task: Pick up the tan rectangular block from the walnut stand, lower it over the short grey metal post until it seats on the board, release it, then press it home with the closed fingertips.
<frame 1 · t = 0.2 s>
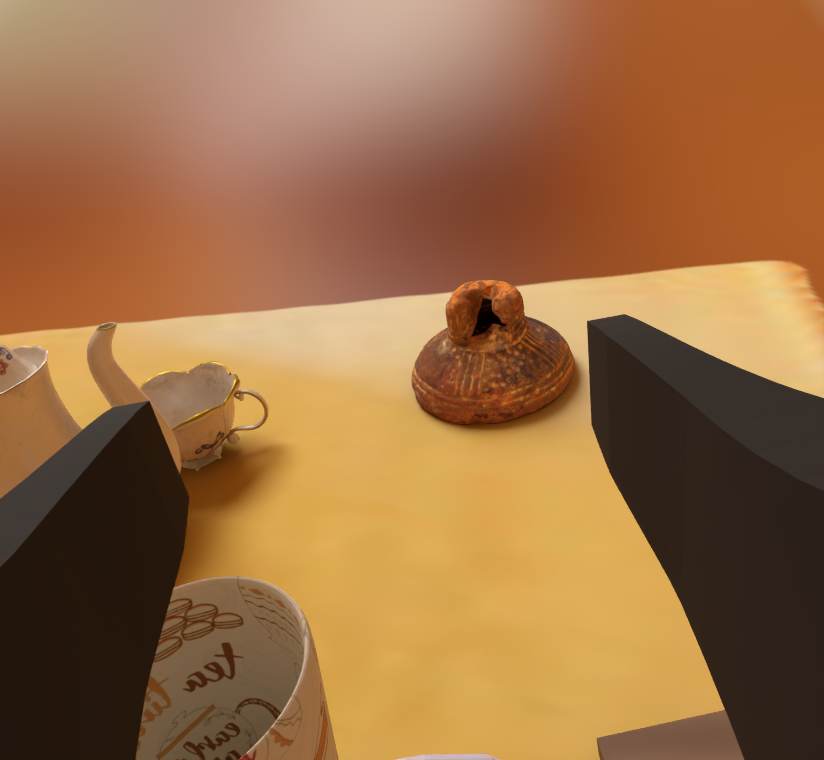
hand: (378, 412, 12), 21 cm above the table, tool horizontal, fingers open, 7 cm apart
chinaware: (87, 543, 47), on the table
bell: (493, 383, 54), on the table
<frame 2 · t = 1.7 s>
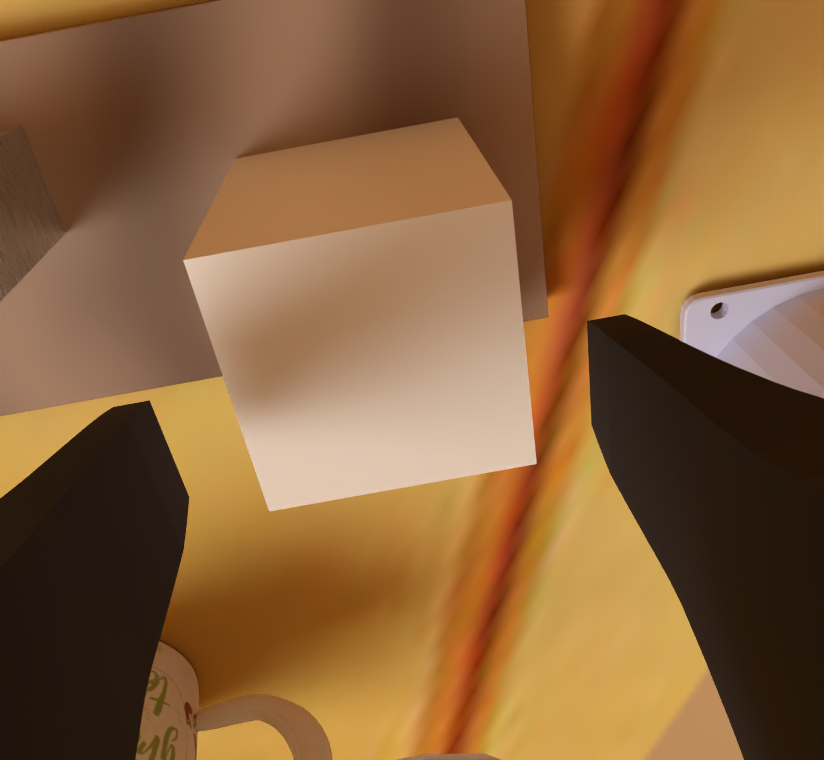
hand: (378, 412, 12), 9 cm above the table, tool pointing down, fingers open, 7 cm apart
tan rectangular block: (367, 244, 19), point 1 cm above the table, touching stand
mug: (172, 666, 28), on the table
post: (8, 178, 19), resting on stand
stand: (184, 207, 19), on the table
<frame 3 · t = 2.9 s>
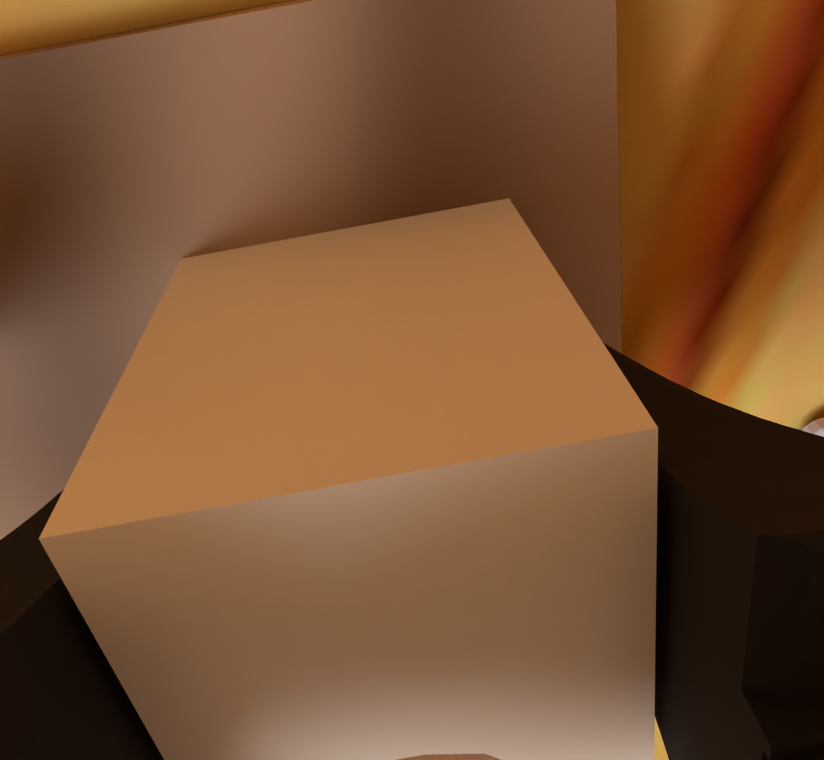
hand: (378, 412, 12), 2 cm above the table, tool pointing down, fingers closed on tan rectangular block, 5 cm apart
tan rectangular block: (375, 370, 13), point 1 cm above the table, touching gripper, stand
stand: (115, 317, 14), on the table
when the fingers open (4 cm above the table, at t = 6.5 s): tan rectangular block drops 2 cm, resting on stand.
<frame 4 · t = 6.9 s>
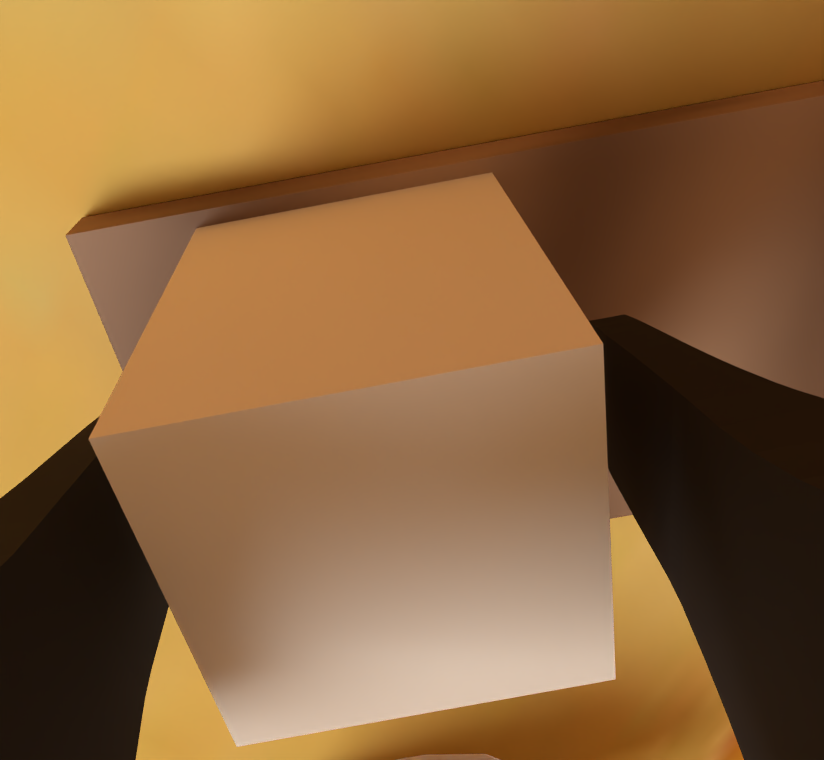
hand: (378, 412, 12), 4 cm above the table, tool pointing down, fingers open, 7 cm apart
tan rectangular block: (372, 332, 15), point 1 cm above the table, touching stand
stand: (563, 339, 16), on the table
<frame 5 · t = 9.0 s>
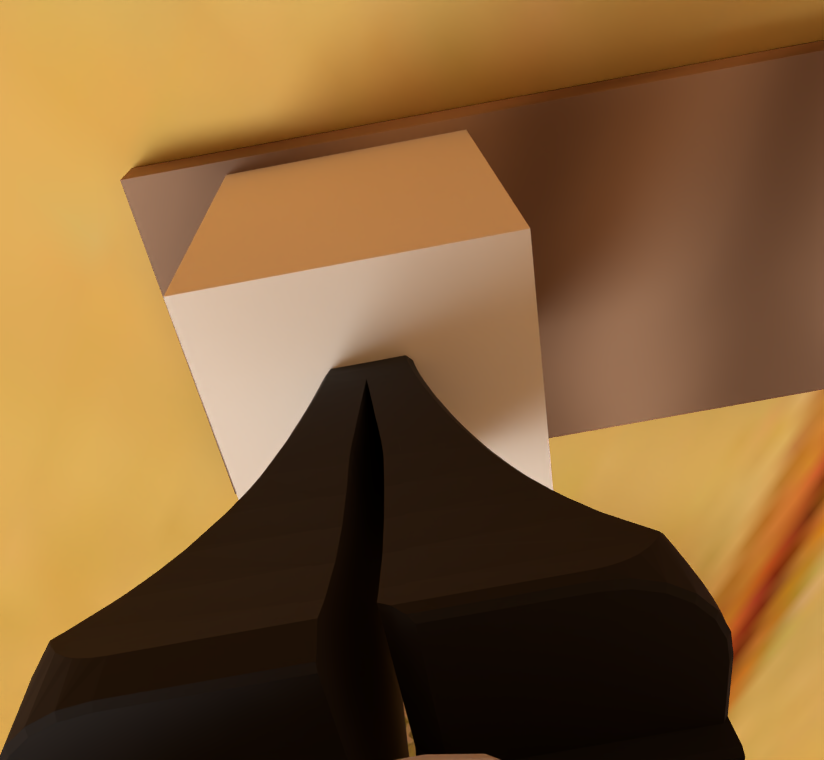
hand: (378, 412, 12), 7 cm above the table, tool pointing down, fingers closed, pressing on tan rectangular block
tan rectangular block: (369, 265, 18), point 1 cm above the table, touching gripper, stand
stand: (530, 276, 19), on the table
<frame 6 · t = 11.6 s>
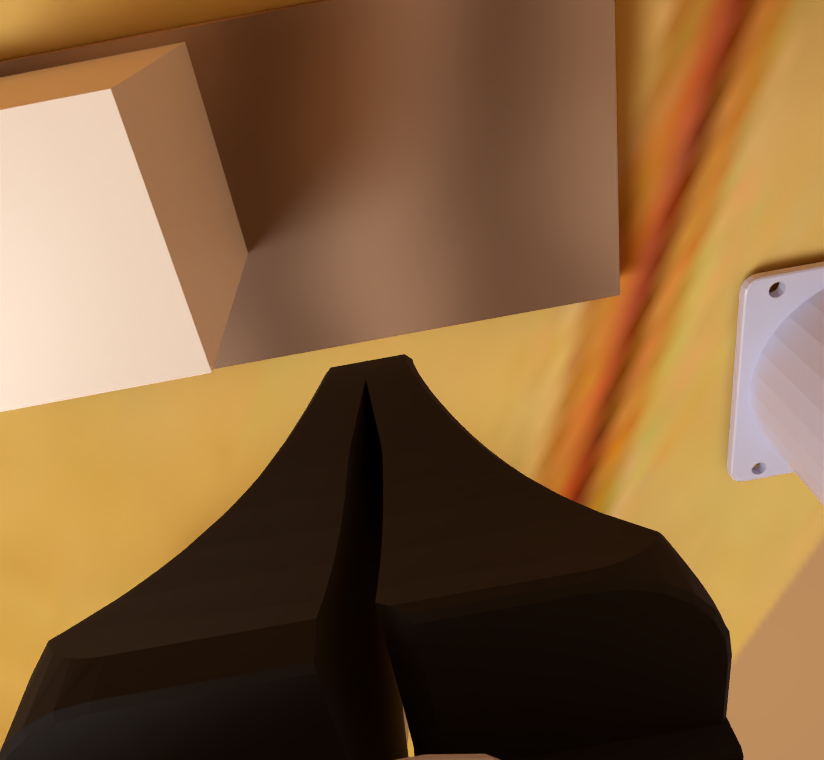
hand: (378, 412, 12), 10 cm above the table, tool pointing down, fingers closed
tan rectangular block: (115, 174, 19), point 1 cm above the table, touching stand
stand: (286, 192, 21), on the table
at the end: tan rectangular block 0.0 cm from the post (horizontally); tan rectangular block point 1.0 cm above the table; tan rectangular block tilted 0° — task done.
